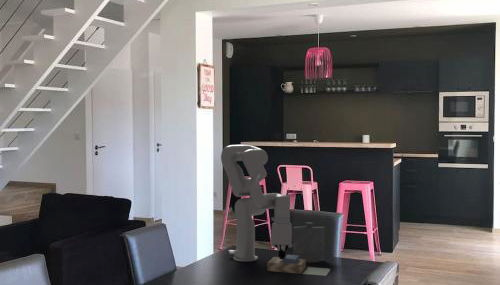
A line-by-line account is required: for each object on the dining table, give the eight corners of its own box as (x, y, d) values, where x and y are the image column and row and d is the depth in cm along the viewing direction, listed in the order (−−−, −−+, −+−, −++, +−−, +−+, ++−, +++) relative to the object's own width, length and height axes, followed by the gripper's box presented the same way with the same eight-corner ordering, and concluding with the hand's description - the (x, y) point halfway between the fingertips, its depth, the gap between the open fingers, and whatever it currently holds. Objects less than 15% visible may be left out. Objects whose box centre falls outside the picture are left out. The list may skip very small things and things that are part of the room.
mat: (302, 274, 250) (302, 273, 250) (307, 267, 262) (307, 266, 262) (326, 276, 246) (326, 275, 246) (330, 269, 259) (330, 268, 259)
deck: (267, 270, 255) (267, 262, 255) (273, 264, 267) (273, 256, 267) (300, 273, 250) (300, 265, 250) (305, 267, 262) (305, 259, 262)
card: (282, 262, 254) (282, 258, 254) (287, 258, 263) (287, 254, 263) (295, 263, 253) (295, 259, 253) (299, 259, 261) (299, 255, 261)
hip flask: (323, 260, 277) (324, 221, 277) (325, 262, 273) (325, 223, 273) (292, 260, 276) (293, 221, 276) (294, 262, 272) (294, 223, 272)
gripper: (264, 221, 257) (264, 259, 258) (295, 222, 253) (295, 261, 253) (269, 218, 265) (269, 256, 265) (299, 220, 260) (298, 258, 260)
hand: (281, 258), depth 259 cm, fingers closed
